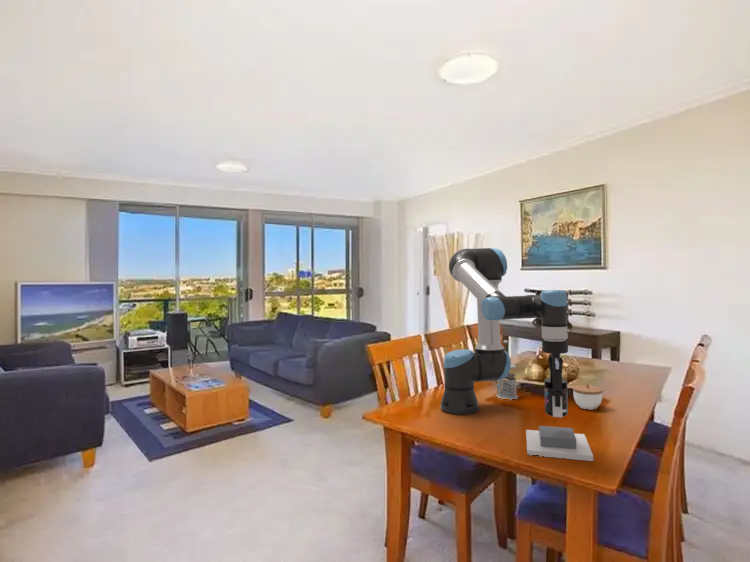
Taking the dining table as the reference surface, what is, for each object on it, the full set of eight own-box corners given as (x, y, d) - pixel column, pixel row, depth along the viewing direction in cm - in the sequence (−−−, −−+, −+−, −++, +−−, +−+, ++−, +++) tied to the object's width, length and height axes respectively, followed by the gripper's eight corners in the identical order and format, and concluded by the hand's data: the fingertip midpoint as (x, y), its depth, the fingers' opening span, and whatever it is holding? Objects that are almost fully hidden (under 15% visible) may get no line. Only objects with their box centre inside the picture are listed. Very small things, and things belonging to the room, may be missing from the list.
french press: (518, 400, 191) (517, 342, 190) (490, 399, 194) (489, 341, 194) (518, 394, 200) (517, 338, 199) (492, 393, 204) (490, 338, 203)
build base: (527, 455, 135) (527, 440, 135) (526, 434, 152) (525, 420, 152) (593, 461, 129) (593, 445, 129) (584, 438, 146) (584, 424, 146)
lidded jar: (606, 412, 173) (606, 387, 172) (576, 411, 175) (576, 387, 175) (598, 404, 183) (598, 381, 183) (570, 403, 185) (570, 380, 185)
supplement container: (556, 409, 145) (555, 377, 144) (573, 415, 138) (572, 381, 138) (540, 412, 142) (539, 379, 142) (556, 418, 136) (555, 384, 136)
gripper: (571, 344, 129) (573, 424, 130) (564, 335, 148) (566, 404, 148) (543, 344, 132) (545, 422, 132) (540, 335, 150) (542, 403, 151)
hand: (556, 412), depth 140 cm, fingers closed on supplement container, 7 cm apart
